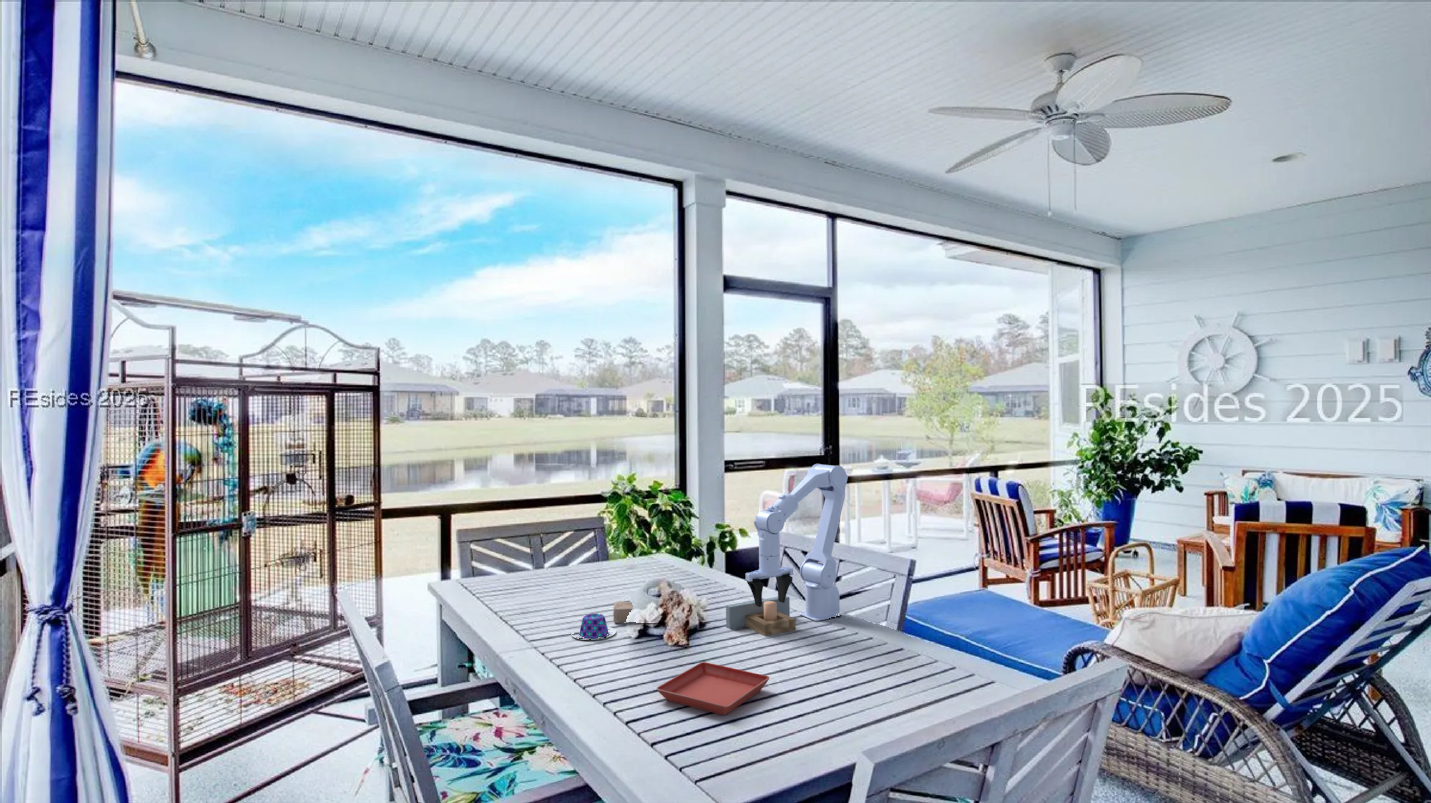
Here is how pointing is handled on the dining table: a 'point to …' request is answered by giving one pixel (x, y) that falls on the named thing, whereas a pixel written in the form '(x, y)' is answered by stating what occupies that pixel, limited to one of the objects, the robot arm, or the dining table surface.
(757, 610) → the wall
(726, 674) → the plant saucer
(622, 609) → the brick
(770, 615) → the dowel
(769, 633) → the socket block
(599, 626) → the pudding
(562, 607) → the dining table surface
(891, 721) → the dining table surface
